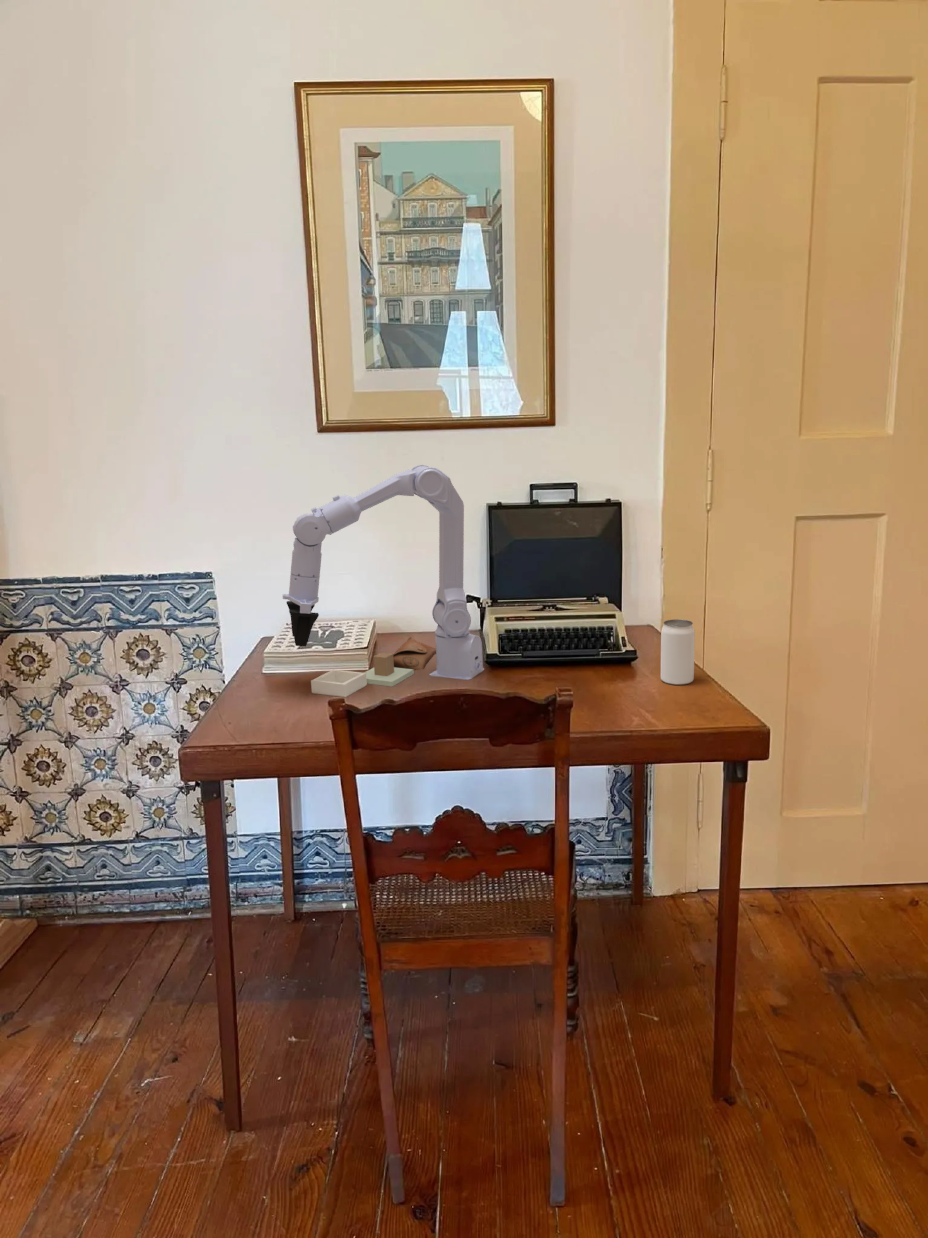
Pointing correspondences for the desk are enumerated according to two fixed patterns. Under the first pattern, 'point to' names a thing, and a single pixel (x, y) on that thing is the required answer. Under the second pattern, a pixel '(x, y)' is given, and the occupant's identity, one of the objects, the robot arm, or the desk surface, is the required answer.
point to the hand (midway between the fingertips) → (299, 641)
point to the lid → (386, 671)
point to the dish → (338, 683)
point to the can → (677, 652)
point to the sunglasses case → (413, 655)
